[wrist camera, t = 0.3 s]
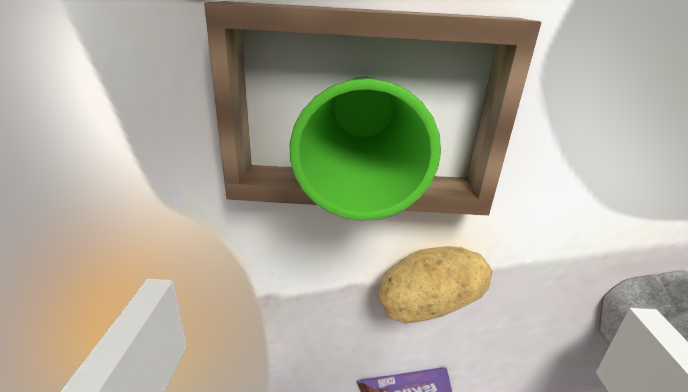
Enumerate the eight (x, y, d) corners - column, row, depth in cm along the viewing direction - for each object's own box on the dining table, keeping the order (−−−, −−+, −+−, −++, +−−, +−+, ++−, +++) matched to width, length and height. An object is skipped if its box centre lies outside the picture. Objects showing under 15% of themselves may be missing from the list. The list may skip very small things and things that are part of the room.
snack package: (448, 374, 46) (454, 399, 48) (445, 360, 48) (450, 385, 50) (356, 388, 48) (366, 411, 50) (356, 374, 50) (366, 397, 52)
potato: (368, 250, 39) (369, 292, 34) (475, 222, 37) (495, 262, 32) (386, 296, 42) (390, 342, 37) (486, 273, 40) (506, 318, 35)
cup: (338, 171, 35) (330, 239, 25) (291, 80, 31) (260, 120, 22) (431, 133, 33) (460, 191, 23) (392, 30, 29) (408, 50, 20)
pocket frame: (223, 1, 29) (204, 2, 25) (519, 17, 28) (541, 21, 25) (239, 178, 36) (226, 199, 32) (476, 193, 36) (488, 215, 32)
